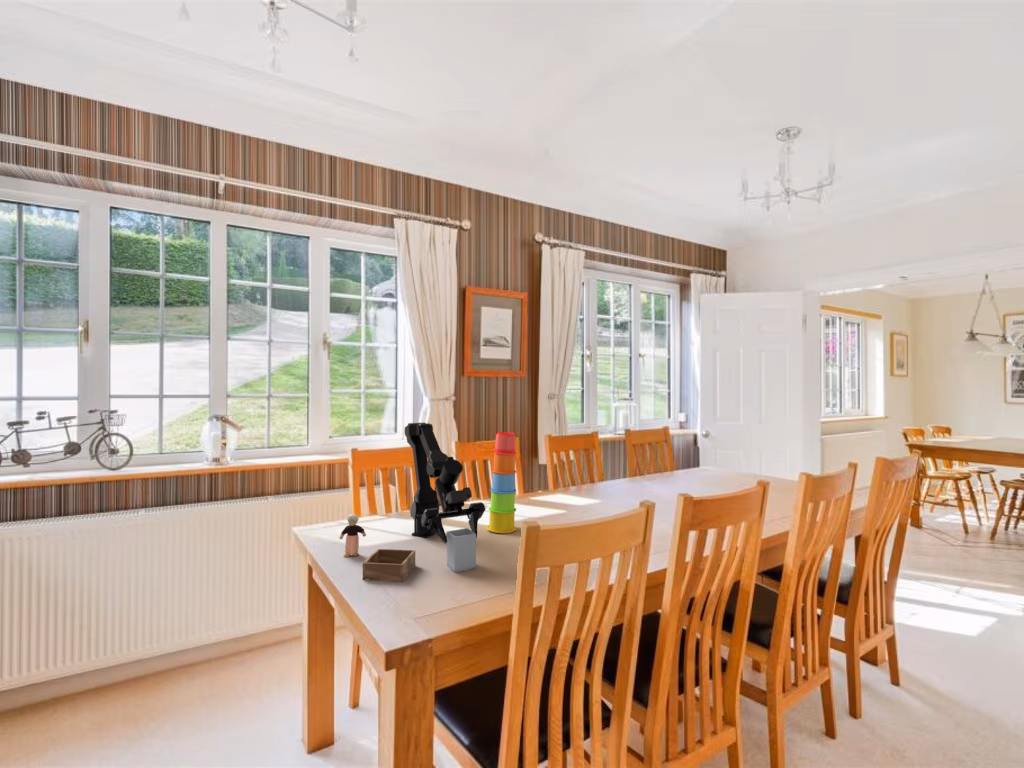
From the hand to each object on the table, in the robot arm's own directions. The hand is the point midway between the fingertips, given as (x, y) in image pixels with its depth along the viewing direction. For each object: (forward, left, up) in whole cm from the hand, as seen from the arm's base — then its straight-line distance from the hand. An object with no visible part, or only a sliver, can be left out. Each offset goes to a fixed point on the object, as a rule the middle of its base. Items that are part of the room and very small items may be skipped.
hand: (461, 539), depth 146 cm
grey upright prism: (0, 0, -8) cm, 8 cm away
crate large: (-16, -12, -8) cm, 22 cm away
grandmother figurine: (-35, -6, -8) cm, 36 cm away
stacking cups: (-5, +36, -8) cm, 37 cm away
